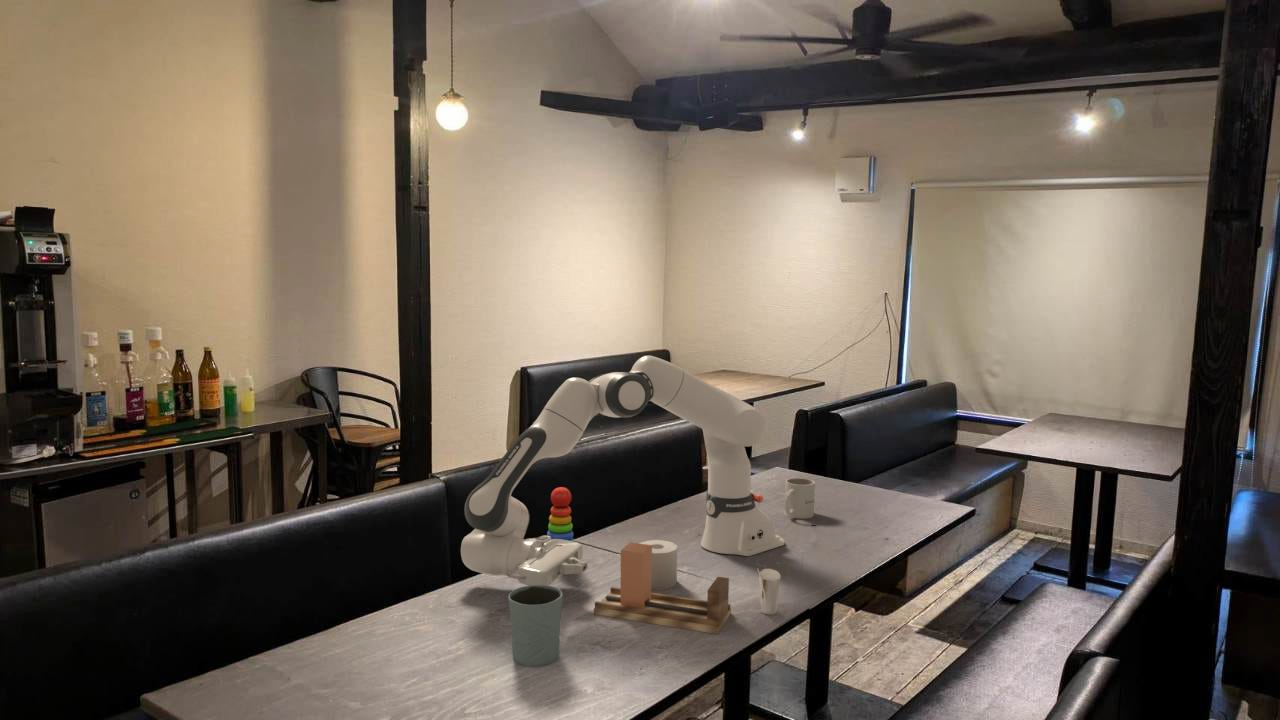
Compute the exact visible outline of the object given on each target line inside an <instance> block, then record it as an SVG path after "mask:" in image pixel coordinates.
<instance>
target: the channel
mask: <svg viewBox="0 0 1280 720" xmlns="http://www.w3.org/2000/svg"><path fill="white" fill-rule="evenodd" d="M729 580H730V578H729V577H724V576H717V577H716V578H715V579H714V581H712V582H713V583H712V584H711V585H710V586H709V587H708V589H707V599H706V600H703V599H696V598H690V597H689V598H688V597H684V596H683V597H682V596H677V595H676V596H675V595H669V594H664V593H663V594H662V593H657V592H651V600H650V602H654V603H661V604H667V605H674V606H680V607H687V608H693V609H699V610H706V611H707V615H702V614H696V613H690V612H683V611H677V610H670V609H664V608H658V607H651V606H645V607H644V608H643V609H642V608H636V607H630V606H623V605H621V602H619V601H613V600H607V599H606V596H604V598H603V599H602V600H601V601H597V600H596V601H595V602H594V608H593V615H598V616H605V617H610V618H611V617H612V618H617V619H623V620H627V621H628V620H629V621H636V622H641V623H645V624H646V623H647V624H653V625H659V626H664V627H665V626H666V627H672V628H677V629H685V630H688V631H695V632H702V633H709V634H715V635H718V634H719V633H720V632H721V630H722V628H723V627H724V625H725V623H727V621H728V619H729V617H730V615H731V614H732V607H731V604H729V587H730V586H729V585H730V584H729V583H730V581H729ZM620 594H621V587H617V586H611V587H610V592H609V593H608V594H607V595H609V596H615V597H620Z"/></svg>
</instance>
